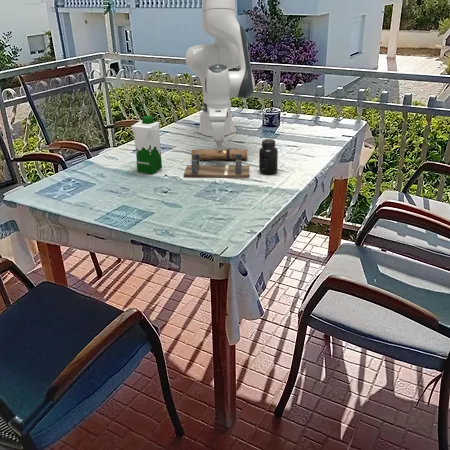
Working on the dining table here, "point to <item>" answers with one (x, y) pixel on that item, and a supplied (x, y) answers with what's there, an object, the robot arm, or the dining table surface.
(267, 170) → the supplement bottle
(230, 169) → the cradle board
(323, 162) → the dining table surface
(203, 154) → the copper tube
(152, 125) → the milk carton
